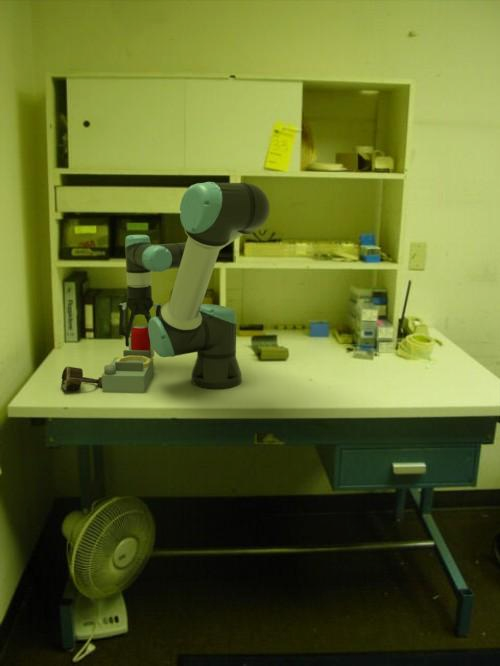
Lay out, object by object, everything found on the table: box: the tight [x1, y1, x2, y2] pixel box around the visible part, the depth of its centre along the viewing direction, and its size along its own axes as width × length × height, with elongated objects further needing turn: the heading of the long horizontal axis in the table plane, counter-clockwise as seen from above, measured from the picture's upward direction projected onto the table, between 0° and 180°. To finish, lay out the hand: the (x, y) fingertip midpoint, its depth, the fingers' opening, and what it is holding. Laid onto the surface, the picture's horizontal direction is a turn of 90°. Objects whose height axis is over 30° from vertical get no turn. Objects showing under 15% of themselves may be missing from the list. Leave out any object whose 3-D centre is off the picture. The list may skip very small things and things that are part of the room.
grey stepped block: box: [101, 349, 155, 394], centre depth 183 cm, size 12×17×8 cm
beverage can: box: [130, 323, 151, 358], centre depth 196 cm, size 6×6×12 cm
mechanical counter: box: [60, 365, 102, 391], centre depth 178 cm, size 7×13×10 cm
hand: (141, 356), depth 197 cm, fingers closed on beverage can, 6 cm apart
